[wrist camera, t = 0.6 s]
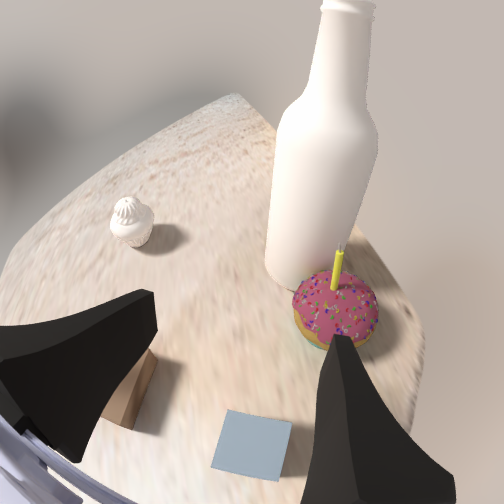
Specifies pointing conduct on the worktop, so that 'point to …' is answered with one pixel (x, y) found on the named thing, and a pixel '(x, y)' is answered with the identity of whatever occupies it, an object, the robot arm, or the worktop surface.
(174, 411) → the worktop surface
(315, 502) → the robot arm
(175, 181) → the worktop surface
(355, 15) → the white bottle
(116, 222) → the muffin
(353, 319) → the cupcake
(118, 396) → the walnut base
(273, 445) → the blue cube
